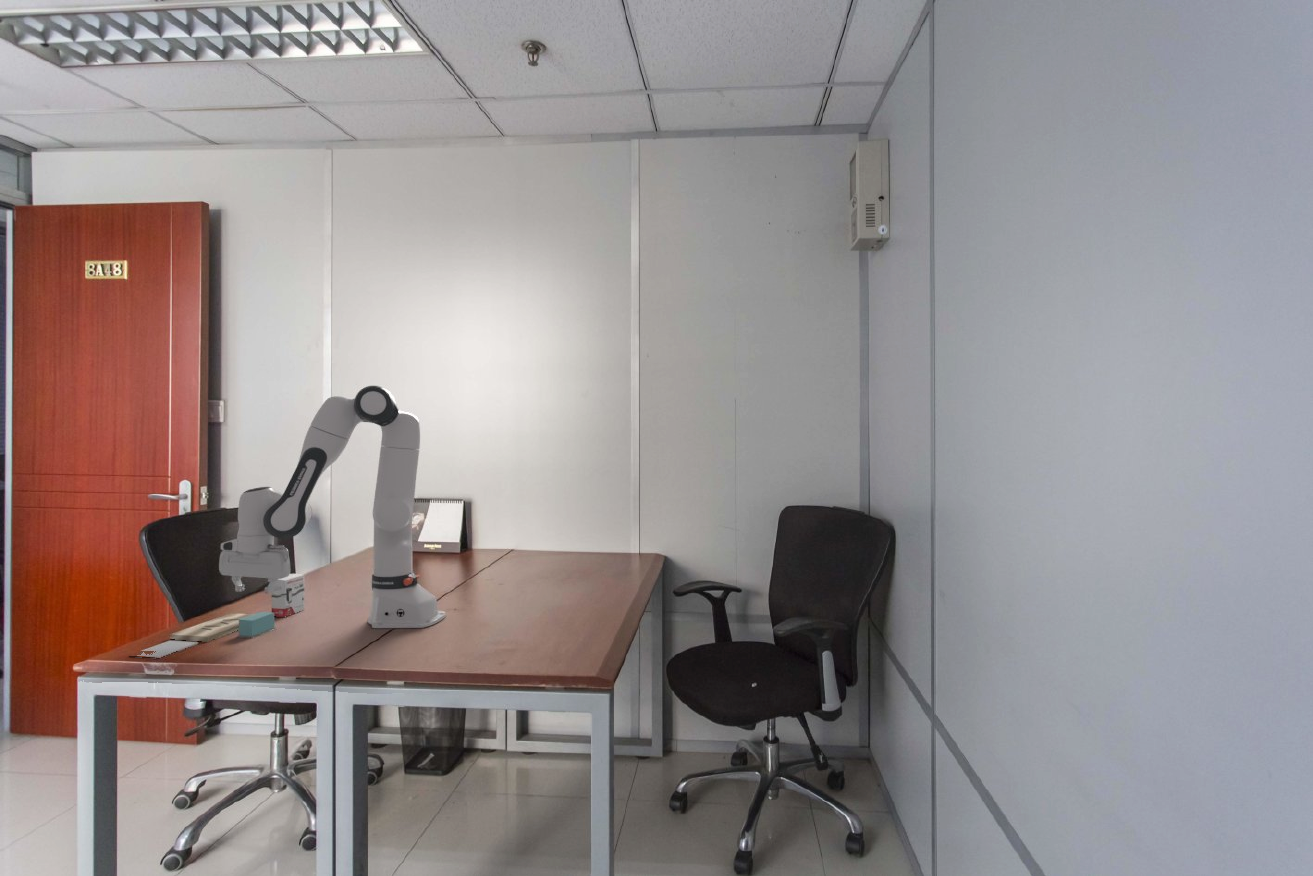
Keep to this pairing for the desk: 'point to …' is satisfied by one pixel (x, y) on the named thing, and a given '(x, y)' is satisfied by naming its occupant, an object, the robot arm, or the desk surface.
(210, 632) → the birch board
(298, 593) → the ink box
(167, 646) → the rest mat
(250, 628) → the sanding block
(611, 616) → the desk surface
